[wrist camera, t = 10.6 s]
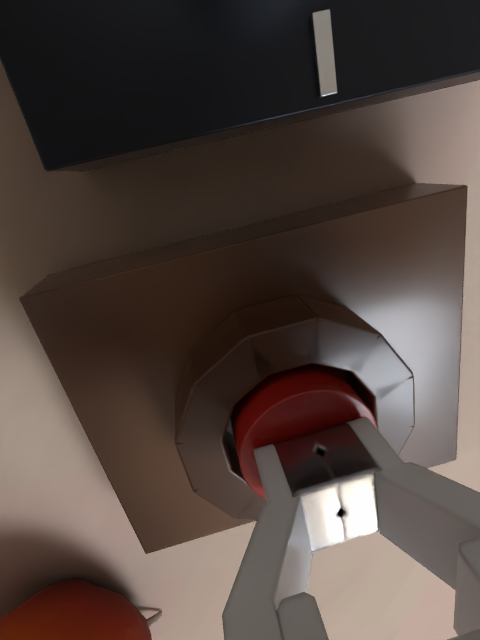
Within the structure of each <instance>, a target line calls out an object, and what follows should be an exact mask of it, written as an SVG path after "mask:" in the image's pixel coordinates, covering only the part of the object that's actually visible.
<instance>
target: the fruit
mask: <svg viewBox="0 0 480 640" xmlns="http://www.w3.org/2000/svg"><path fill="white" fill-rule="evenodd" d="M161 613H162V610H161V611H159V612H158V613H157V614H155V615H154V616H152V617H150V618H148V619H146V618H145V617H144V616H143V615H142V614H141V613H140V612H139V611H138V610H137V609H136V608H135V606H133V605H132V604H131V603H130V602H129V601H128V600H127V599H126V598H124V597H123V596H121V595H119V594H117V593H115V592H112V591H110V590H106V589H103V588H100V587H98V586H95V585H93V584H91V583H88V582H86V581H83V580H81V579H78V578H75V579H70V580H66V581H63V582H60V583H57V584H54V585H51V586H48V587H46V588H44V589H43V590H41V591H40V592H38V593H36V594H35V595H33V596H32V597H30V598H29V599H27V600H26V601H25V602H23V603H22V604H21V605H19V606H18V607H16V608H15V609H14V610H12V611H11V612H9V613H8V614H6V615H5V616H4V617H2V618H1V619H0V640H152V639H151V633H150V630H149V627H150V626H151V624H152V623H154V622H156V621H157V620H158V619H159V618H160V617H161V616H162V615H161Z"/></svg>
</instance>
